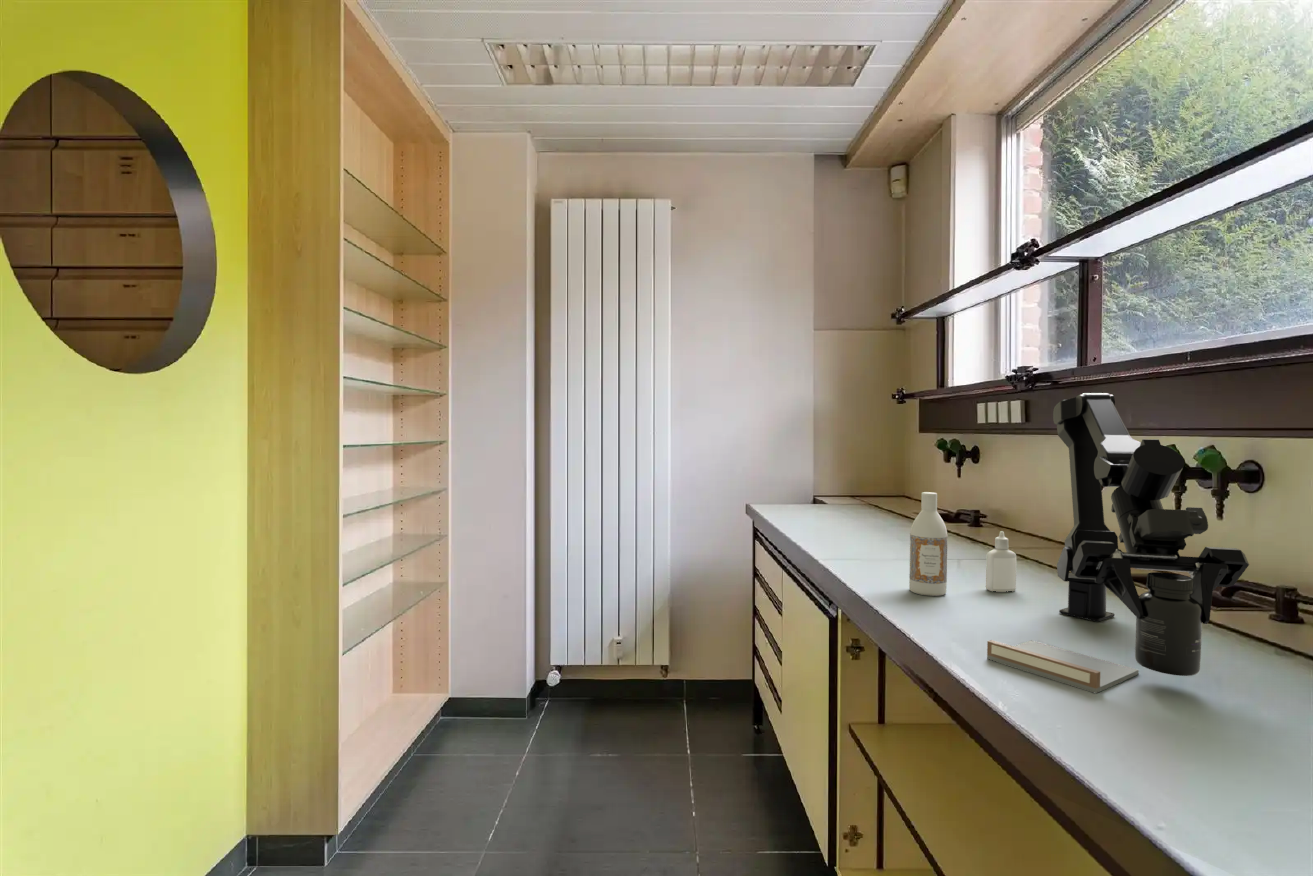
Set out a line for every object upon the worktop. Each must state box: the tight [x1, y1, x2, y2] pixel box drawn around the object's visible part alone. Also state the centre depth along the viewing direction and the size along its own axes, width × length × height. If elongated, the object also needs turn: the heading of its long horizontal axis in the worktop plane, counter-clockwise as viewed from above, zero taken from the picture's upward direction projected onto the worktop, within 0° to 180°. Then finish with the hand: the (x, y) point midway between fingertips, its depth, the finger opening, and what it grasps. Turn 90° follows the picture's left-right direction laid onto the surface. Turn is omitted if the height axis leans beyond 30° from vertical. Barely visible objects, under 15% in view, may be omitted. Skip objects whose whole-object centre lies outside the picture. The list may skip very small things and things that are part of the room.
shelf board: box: [986, 639, 1140, 694], centre depth 95 cm, size 12×14×3 cm
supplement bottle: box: [1134, 571, 1203, 677], centre depth 88 cm, size 7×7×12 cm
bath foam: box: [908, 491, 948, 597], centre depth 135 cm, size 7×7×20 cm
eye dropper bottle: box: [985, 530, 1017, 593], centre depth 137 cm, size 4×6×12 cm
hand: (1173, 619), depth 87 cm, fingers closed on supplement bottle, 7 cm apart
